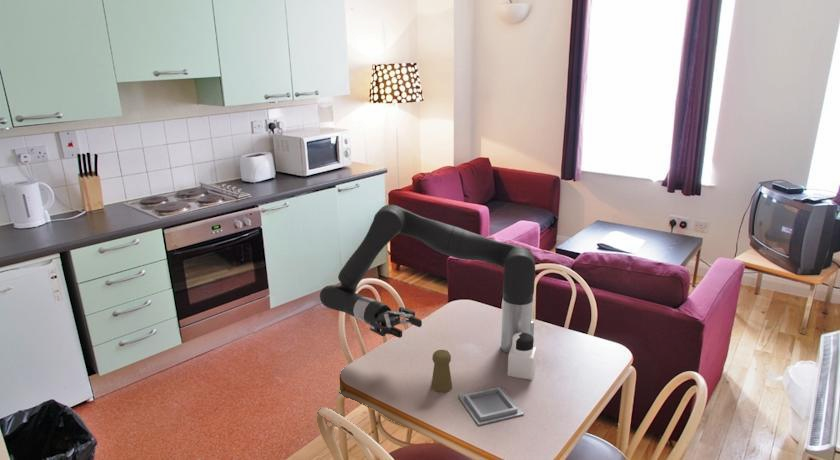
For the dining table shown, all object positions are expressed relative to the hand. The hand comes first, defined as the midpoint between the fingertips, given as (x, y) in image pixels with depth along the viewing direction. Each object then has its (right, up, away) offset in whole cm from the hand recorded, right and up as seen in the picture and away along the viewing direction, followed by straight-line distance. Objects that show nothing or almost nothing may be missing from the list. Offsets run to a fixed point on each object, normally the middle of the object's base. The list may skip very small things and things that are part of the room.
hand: (411, 329), depth 160 cm
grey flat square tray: (+21, -19, -11) cm, 31 cm away
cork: (+9, -16, -2) cm, 18 cm away
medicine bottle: (+33, -14, +4) cm, 36 cm away
